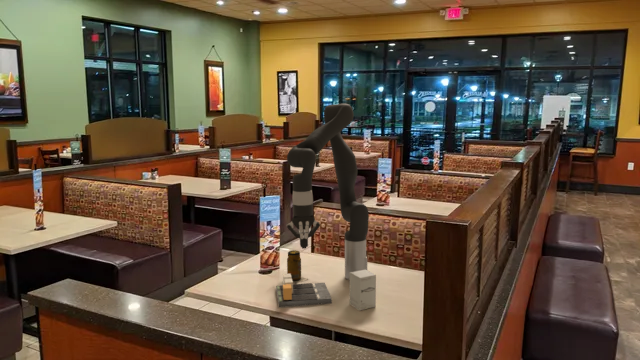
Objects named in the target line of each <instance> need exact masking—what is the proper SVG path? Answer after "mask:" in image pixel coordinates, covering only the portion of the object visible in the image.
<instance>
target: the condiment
mask: <svg viewBox="0 0 640 360" xmlns="http://www.w3.org/2000/svg"><path fill="white" fill-rule="evenodd" d="M286 265H287V266H286V267H287V269H286V274H290V273H291V277H292V281H293V284H298V283H302V282H304V281H307V280H308V278H306V277H304V276H302V257H301V252H300V251H299V250H289V251H288V252H287V259H286Z"/></svg>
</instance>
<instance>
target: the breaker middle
mask: <svg viewBox="0 0 640 360" xmlns="http://www.w3.org/2000/svg"><path fill="white" fill-rule="evenodd" d="M286 284H291V288H292V293H293V284H294V283H293V281H292V279H284V285H286Z"/></svg>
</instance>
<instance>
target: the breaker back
mask: <svg viewBox="0 0 640 360" xmlns="http://www.w3.org/2000/svg"><path fill="white" fill-rule="evenodd" d="M282 275H283V277H282V280H283V281H282V283H283V284H282V285H284V279H292V277H291V273H290V274H287V273H283V274H282Z"/></svg>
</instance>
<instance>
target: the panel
mask: <svg viewBox="0 0 640 360" xmlns="http://www.w3.org/2000/svg"><path fill="white" fill-rule="evenodd" d="M275 291H276V298H277V304H278V308H288V307H289V308H290V307H300V306H303V307H304V306H314V305H315V306H316V305H328V304H329V305H330V304H333V302H332V301H333V299H332V295H331V293H330V291H329V289H328V286H327V284H326V282H313V283H311V282H310V283H309V282H308V283H293V293H292V300H284V298H283V284H279V285H276V286H275Z"/></svg>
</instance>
